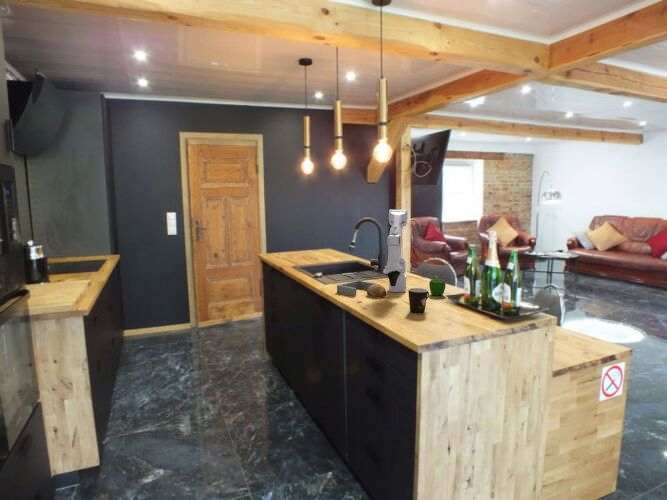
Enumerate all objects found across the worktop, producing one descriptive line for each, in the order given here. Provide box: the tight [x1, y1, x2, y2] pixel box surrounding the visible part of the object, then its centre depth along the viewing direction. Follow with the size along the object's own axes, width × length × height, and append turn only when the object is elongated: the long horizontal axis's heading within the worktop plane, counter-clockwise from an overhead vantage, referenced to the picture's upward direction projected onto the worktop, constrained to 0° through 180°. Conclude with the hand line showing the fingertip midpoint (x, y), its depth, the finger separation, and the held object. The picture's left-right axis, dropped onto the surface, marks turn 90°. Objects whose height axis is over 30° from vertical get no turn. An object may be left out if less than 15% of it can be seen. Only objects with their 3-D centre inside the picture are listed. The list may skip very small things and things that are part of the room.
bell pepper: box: [428, 275, 446, 297], centre depth 223 cm, size 8×8×10 cm
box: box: [336, 280, 377, 297], centre depth 229 cm, size 12×18×4 cm, turn 138°
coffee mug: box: [407, 287, 430, 314], centre depth 191 cm, size 12×9×10 cm
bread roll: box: [366, 283, 387, 299], centre depth 221 cm, size 10×10×8 cm
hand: (392, 286), depth 213 cm, fingers closed
